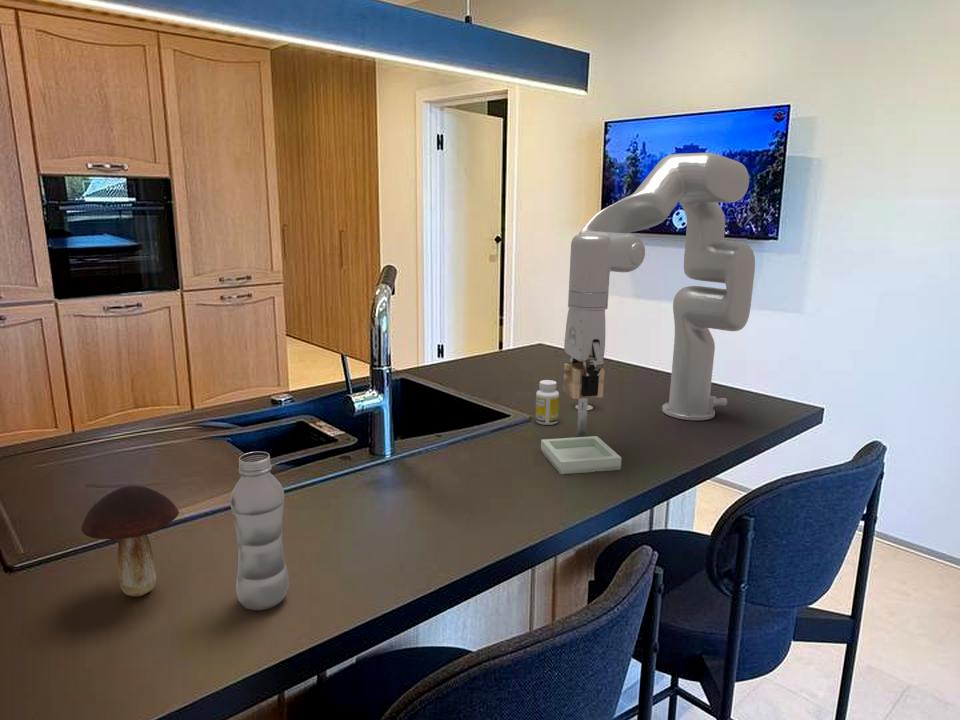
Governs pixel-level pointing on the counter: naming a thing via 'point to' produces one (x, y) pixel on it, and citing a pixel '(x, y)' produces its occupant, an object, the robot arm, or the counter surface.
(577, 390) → the ring
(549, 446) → the tray
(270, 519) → the plastic bottle
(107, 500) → the decorative mushroom
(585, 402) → the post
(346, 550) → the counter surface
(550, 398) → the supplement bottle
